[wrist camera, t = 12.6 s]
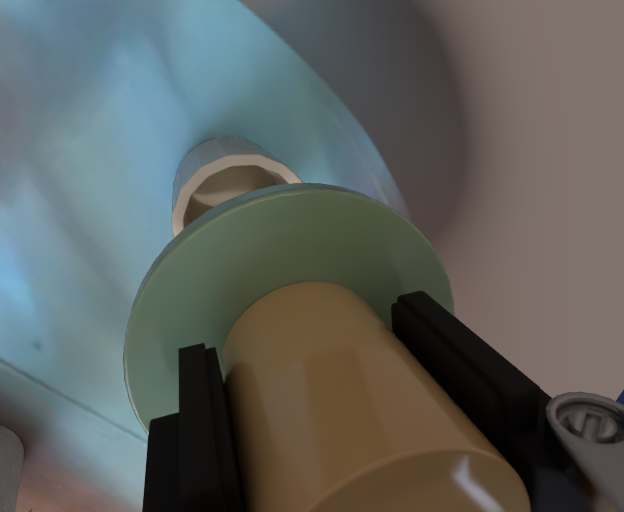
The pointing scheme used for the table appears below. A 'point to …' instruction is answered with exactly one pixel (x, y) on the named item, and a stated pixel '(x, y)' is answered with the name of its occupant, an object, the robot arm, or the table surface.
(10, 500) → the house plant
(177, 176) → the cup
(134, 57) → the table surface
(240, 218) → the cylinder on green disc
